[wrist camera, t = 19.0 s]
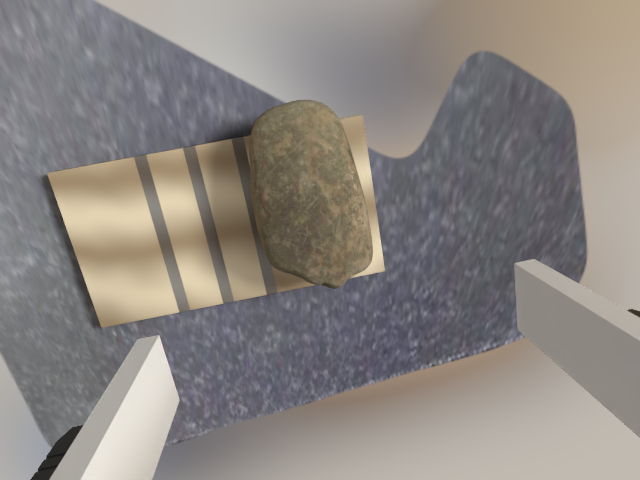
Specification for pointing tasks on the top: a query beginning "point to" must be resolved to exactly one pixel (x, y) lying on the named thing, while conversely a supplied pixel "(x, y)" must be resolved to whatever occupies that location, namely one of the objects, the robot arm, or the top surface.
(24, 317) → the top surface
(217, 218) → the board
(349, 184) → the stone
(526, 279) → the robot arm
